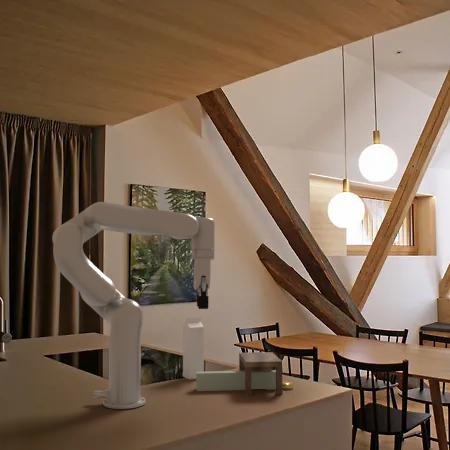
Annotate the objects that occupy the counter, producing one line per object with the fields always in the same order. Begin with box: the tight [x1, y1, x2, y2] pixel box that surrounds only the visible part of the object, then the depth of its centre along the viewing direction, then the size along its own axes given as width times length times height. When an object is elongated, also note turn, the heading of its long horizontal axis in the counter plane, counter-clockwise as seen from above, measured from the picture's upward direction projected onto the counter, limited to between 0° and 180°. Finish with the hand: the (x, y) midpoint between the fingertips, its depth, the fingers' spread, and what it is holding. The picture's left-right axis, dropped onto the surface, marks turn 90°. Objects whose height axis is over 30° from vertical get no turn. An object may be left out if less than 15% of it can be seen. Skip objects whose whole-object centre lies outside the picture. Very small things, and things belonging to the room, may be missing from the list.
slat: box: [195, 369, 276, 392], centre depth 179 cm, size 28×3×6 cm, turn 95°
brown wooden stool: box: [238, 351, 284, 396], centre depth 180 cm, size 12×18×11 cm, turn 5°
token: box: [282, 381, 294, 391], centre depth 180 cm, size 5×5×2 cm
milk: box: [182, 317, 205, 381], centre depth 198 cm, size 6×6×22 cm
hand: (202, 307), depth 172 cm, fingers open, 9 cm apart
